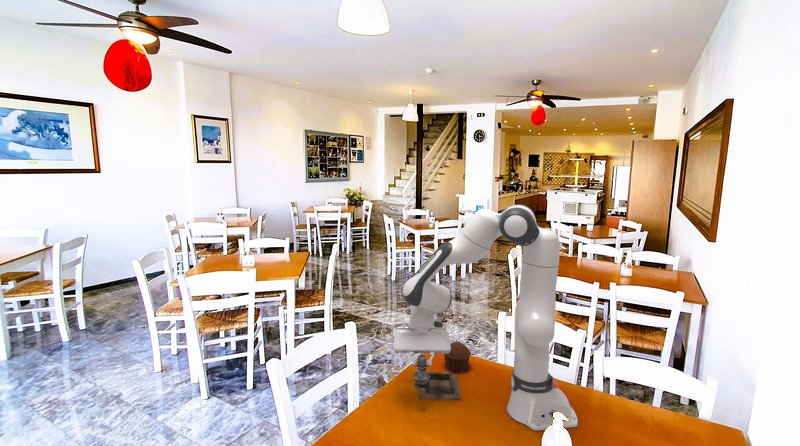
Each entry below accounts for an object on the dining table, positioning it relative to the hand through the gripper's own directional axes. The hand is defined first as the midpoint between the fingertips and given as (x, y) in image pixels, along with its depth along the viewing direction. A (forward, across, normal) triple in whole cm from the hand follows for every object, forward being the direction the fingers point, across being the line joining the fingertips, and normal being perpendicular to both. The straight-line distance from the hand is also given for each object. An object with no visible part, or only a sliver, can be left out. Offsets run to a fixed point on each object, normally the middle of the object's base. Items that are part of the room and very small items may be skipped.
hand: (421, 365), depth 133 cm
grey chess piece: (+5, 0, +6) cm, 8 cm away
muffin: (-9, +14, +33) cm, 37 cm away
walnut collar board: (+2, +6, +21) cm, 22 cm away
